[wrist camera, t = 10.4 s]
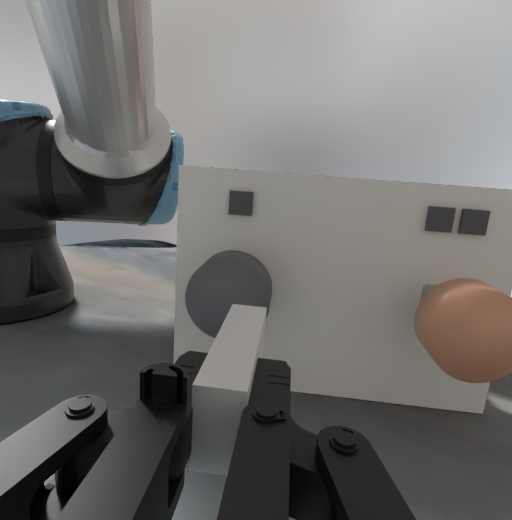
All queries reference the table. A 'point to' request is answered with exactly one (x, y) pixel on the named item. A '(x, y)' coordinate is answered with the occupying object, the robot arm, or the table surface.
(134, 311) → the table surface
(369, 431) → the table surface
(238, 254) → the charcoal button
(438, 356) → the terracotta button
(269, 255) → the button panel
